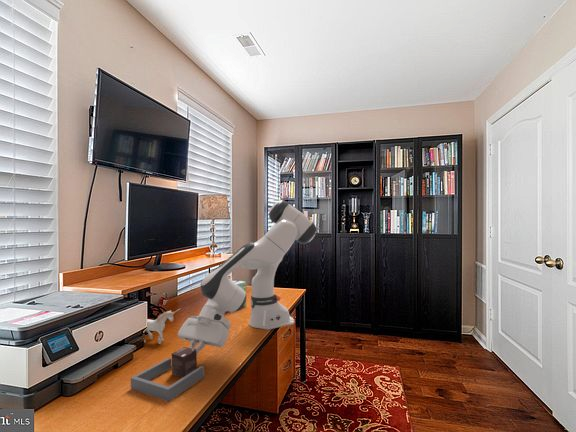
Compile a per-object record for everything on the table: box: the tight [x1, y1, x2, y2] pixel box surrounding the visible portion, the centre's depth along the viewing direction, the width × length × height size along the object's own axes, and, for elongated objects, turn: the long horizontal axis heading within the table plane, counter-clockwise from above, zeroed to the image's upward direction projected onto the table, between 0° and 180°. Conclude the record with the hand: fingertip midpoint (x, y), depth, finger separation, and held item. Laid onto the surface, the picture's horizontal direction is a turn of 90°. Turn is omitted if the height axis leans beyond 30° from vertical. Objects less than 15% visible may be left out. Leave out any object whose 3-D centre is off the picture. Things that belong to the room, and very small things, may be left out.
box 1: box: [130, 357, 205, 403], centre depth 100 cm, size 15×16×4 cm
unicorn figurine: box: [143, 307, 182, 345], centre depth 135 cm, size 7×20×13 cm, turn 93°
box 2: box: [171, 346, 198, 378], centre depth 107 cm, size 6×6×7 cm
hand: (192, 354), depth 110 cm, fingers closed
